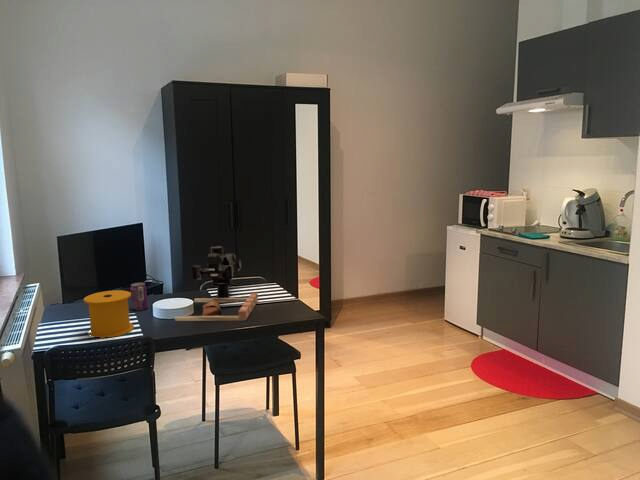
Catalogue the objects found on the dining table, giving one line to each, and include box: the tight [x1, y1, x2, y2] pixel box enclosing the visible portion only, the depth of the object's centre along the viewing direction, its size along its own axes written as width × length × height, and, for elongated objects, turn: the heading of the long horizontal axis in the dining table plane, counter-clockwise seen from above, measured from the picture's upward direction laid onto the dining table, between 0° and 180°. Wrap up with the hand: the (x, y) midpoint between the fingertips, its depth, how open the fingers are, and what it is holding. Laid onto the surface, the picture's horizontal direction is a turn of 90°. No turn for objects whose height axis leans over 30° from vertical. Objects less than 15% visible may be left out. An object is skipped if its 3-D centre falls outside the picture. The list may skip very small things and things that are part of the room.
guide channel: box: [174, 292, 259, 322], centre depth 240 cm, size 30×31×4 cm
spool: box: [83, 289, 135, 339], centre depth 214 cm, size 18×18×15 cm
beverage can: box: [129, 282, 149, 311], centre depth 244 cm, size 7×7×12 cm
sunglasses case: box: [201, 297, 222, 316], centre depth 240 cm, size 18×7×7 cm, turn 15°
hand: (207, 276), depth 235 cm, fingers open, 9 cm apart
